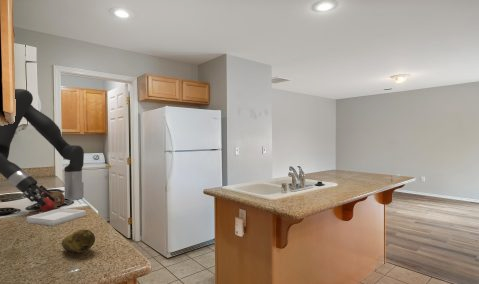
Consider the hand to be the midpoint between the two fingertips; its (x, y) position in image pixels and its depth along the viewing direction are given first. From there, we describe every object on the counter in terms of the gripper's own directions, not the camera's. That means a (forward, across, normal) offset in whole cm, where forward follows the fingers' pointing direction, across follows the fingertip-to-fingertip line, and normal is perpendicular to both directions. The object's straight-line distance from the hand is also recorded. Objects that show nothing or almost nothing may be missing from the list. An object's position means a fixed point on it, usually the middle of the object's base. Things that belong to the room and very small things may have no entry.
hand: (49, 203), depth 132 cm
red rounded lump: (+3, 0, +4) cm, 5 cm away
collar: (+3, 0, +4) cm, 5 cm away
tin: (0, +15, +7) cm, 17 cm away
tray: (+10, -13, -3) cm, 16 cm away
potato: (+27, -55, -20) cm, 64 cm away
